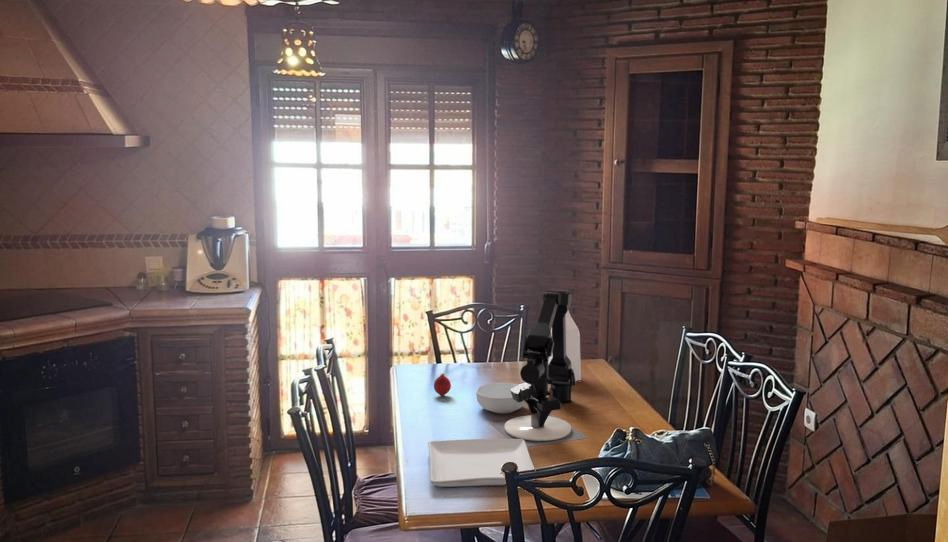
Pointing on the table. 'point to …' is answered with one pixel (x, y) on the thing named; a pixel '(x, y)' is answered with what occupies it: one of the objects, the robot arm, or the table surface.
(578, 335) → the milk
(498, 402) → the cereal bowl
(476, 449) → the square plate
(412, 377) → the table surface
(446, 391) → the onion
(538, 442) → the mat
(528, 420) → the lid
